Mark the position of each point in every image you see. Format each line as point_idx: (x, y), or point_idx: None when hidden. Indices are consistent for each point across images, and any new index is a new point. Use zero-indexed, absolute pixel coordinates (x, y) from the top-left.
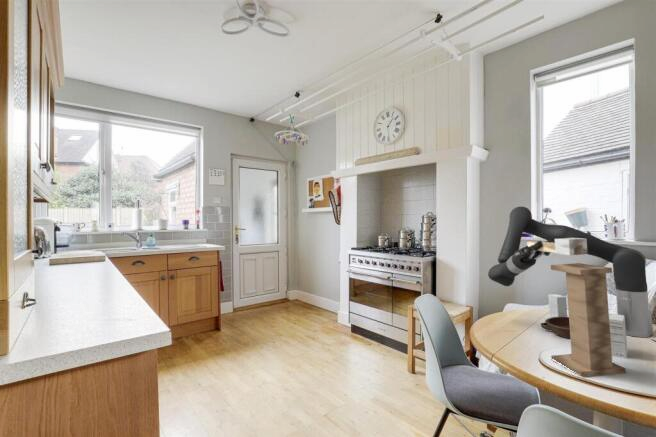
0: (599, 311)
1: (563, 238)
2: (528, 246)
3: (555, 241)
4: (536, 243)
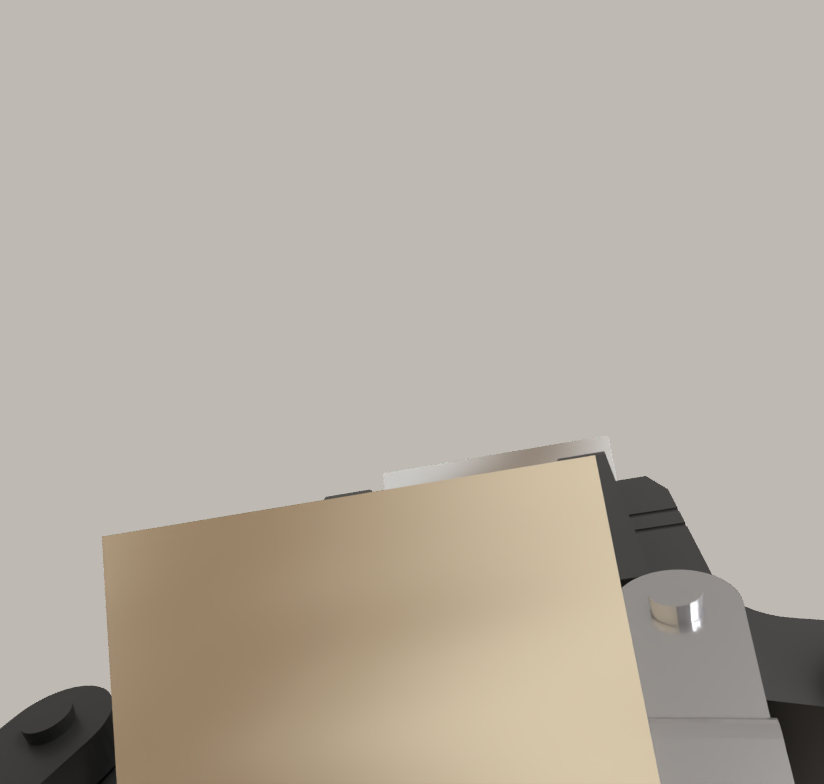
0: None
1: (503, 455)
2: (650, 769)
3: (614, 469)
4: (666, 503)
